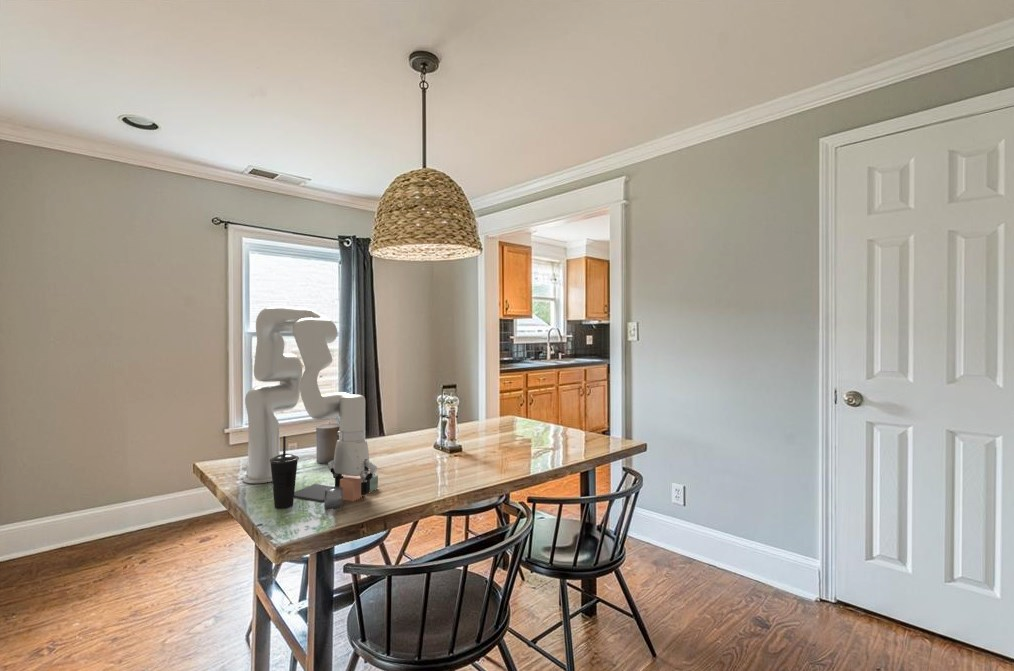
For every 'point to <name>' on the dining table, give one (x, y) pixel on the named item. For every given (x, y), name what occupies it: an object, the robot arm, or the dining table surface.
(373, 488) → the green cube
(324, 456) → the pillar candle
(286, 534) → the dining table surface
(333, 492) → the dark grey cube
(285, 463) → the drinking cup
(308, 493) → the black mat
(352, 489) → the terracotta block
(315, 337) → the robot arm
